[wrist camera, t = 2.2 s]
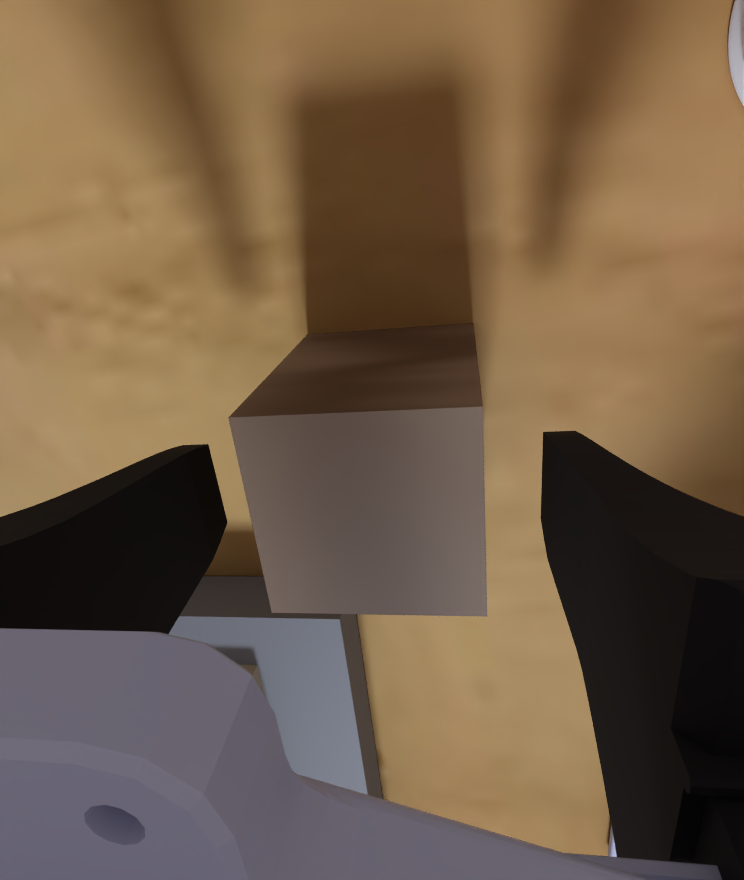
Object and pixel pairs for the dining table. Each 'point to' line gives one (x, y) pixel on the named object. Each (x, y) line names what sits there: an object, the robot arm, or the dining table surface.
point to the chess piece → (737, 48)
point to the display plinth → (295, 675)
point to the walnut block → (369, 474)
